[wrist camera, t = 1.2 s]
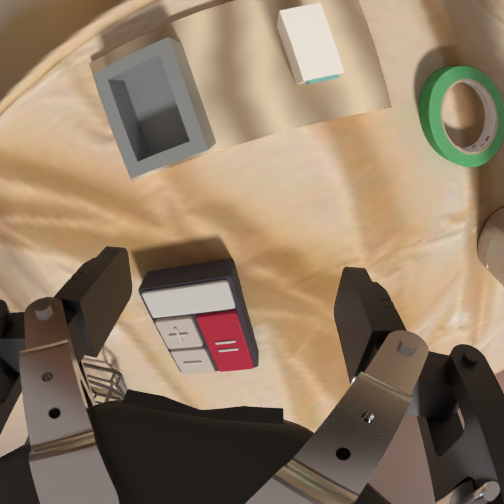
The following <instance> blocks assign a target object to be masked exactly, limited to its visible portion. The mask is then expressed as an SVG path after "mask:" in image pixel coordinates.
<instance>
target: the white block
mask: <svg viewBox="0 0 504 504" xmlns="http://www.w3.org/2000/svg"><path fill="white" fill-rule="evenodd" d="M277 30H278V33H279V36H280V39H281V41H282V44H283V47H284V50H285V53H286V56H287V59H288V62H289V65H290V68H291V71H292V74H293V77H294V80H295V83H296V85H298V84H302V83H305V85H309V84H314V83H318V82H323V81H328V80H333V79H336V78H340V77H339V74H342V73H344V70H343V66H342V63H341V60H340V57H339V54H338V51H337V47H336V44H335V42H334V39H333V36H332V33H331V30H330V27H329V24H328V22H327V19H326V16H325V14H324V11H323V8H322V6H321V3H316V4H310V5H305V6H299V7H294V8H289V9H284V10H280V11H279V15H278V21H277Z"/></svg>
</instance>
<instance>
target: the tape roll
mask: <svg viewBox="0 0 504 504" xmlns="http://www.w3.org/2000/svg"><path fill="white" fill-rule="evenodd" d="M460 82H464V83H466V84H468V85H469V86H471V87H472V88H473V89H474V90H475V91H476V92H477V94H478V95H479V97H480V99H481V101H482V104H483V107H484V112H485V124H484V128H483V131H482V134H481V136H480V137H479V139H478V140H477V141H476V142H475V143H474V144H473V145H471V146H469V147H465V148H460V147H458V146H456V145H455V144H454V143H453V142H452V141H451V139H450V138H449V136H448V134H447V132H446V129H445V126H444V122H443V104H444V100H445V97H446V95H447V93H448V92H449V90H450V89H451V88H452V87H453V86H454V85H456V84H458V83H460ZM419 115H420V122H421V126H422V129H423V132H424V134H425V137H426V139H427V140H428V142H429V143H430V145H431V146H432V148H433V149H434V150H435V151H436V152H437V153H438V154H439V155H441V156H442V157H444V158H445V159H447V160H449V161H452V162H454V163H456V164H458V165H461V166H465V167H477V166H480V165H483V164H485V163H486V162H488V161H489V160H491V159H492V158H493V157H494V156H495V154H496V153H497V152H498V150H499V148H500V146H501V144H502V142H503V139H504V103H503V100H502V97H501V95H500V93H499V91H498V89H497V87H496V86H495V84H494V83H493V82H492V81H491V80H490V78H489V77H488V76H486V75H485V74H484V73H483V72H481V71H480V70H478V69H475V68H473V67H469V66H449V67H444V68H442V69H439V70H437V71H436V72H435V73H433V74H432V75H431V76H430V77H429V78H428V80H427V81H426V83H425V85H424V87H423V89H422V92H421V96H420V102H419Z"/></svg>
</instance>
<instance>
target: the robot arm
mask: <svg viewBox="0 0 504 504" xmlns="http://www.w3.org/2000/svg"><path fill="white" fill-rule="evenodd" d="M478 255H479V259H480V261H481V263H482V264H483V265H484V266H485V267H486V268H487V269H488V270H489V271H490V272H491V273H492V275H493V276H494V277H495V278H496V279H497V280H498V281H499V282H500V283H501V284H502V285H503V286H504V208H501V209H499V210H498V211H496V212H495V213H494V214H493V215H492V216H491V217H490V218H489V219H488V221H487V222H486V224H485V225H484V227H483V229H482V232H481V234H480V238H479V242H478ZM131 293H132V280H131V273H130V265H129V258H128V252H127V250H126V248H120V247H109V246H107V247H106V248H105V249H104V250H103V251H102V252H101V253H100V254H99V255H98V256H97V257H96V258H93V259H91V260H89V261H88V262H86V263H84V264H83V265H82V266H81V267H80V268H79V269H78V270H77V273H75V274H74V275H73V276H72V277H71V279H69V280H68V281H67V283H66V284H65V285H64V286H63V287H62V288H61V289H60V291H59V292H58V293H57V294H56V295H55V296H54V297H45V298H41V299H38V300H36V301H34V302H32V303H31V304H30V305H29V306H28V307H27V308H26V310H25V312H18V313H10V312H9V309H8V307H7V304H6V302H5V301H3V300H0V434H1V432H2V430H3V427H4V425H5V423H6V421H7V419H8V417H9V415H10V413H11V411H12V409H13V407H14V405H15V403H16V401H17V399H18V397H19V396H20V394H21V392H22V394H23V403H24V410H25V417H26V422H27V429H28V434H29V440H30V442H28V443H26V444H25V445H23V446H21V447H19V448H17V449H15V450H14V451H12V452H10V453H8V454H6V455H4V456H2V457H1V458H0V504H391V503H390V502H389V501H387V499H385V498H384V497H383V496H382V495H381V494H380V493H379V492H377V491H376V490H375V489H374V488H373V487H372V486H371V485H370V484H369V483H368V480H369V479H370V477H371V476H372V474H373V473H374V471H375V469H376V467H377V466H378V464H379V462H380V461H381V459H382V457H383V455H384V454H385V452H386V450H387V448H388V447H389V445H390V443H391V441H392V439H393V437H394V435H395V433H396V431H397V429H398V427H399V425H400V423H401V421H402V419H403V417H404V415H405V414H409V415H414V416H417V419H418V423H419V427H420V431H421V435H422V439H423V443H424V448H425V452H426V456H427V461H428V465H429V470H430V475H431V480H432V485H433V490H434V496H435V502H436V503H435V504H504V393H503V391H502V389H501V387H500V385H499V383H498V381H497V380H496V377H495V375H494V373H493V371H492V369H491V368H490V366H489V364H488V362H487V360H486V358H485V357H484V355H483V354H482V353H481V352H480V351H479V350H477V349H476V348H474V347H472V346H469V345H465V344H461V345H457V346H455V347H454V348H453V349H452V351H451V353H450V355H449V356H448V355H443V354H439V353H434V352H430V351H428V346H427V344H426V343H425V341H424V340H423V339H422V338H421V337H419V336H418V335H416V334H414V333H412V332H409V331H407V330H406V328H405V326H404V324H403V322H402V320H401V318H400V316H399V314H398V312H397V310H396V309H395V306H394V304H393V302H392V301H391V298H390V297H389V295H388V293H387V291H386V290H385V289H384V288H383V287H382V286H381V285H380V284H378V283H377V282H372V281H371V279H370V277H369V275H368V273H367V271H366V269H365V268H355V267H345V268H344V269H343V272H342V276H341V280H340V284H339V288H338V292H337V296H336V300H335V306H334V318H335V322H336V326H337V330H338V334H339V338H340V342H341V346H342V351H343V355H344V359H345V363H346V367H347V372H348V376H349V381H350V385H351V386H350V388H349V389H348V391H347V392H346V393H345V395H344V396H343V397H342V399H341V400H340V401H339V403H338V404H337V405H336V407H335V408H334V409H333V411H332V412H331V413H330V414H329V416H328V417H327V418H326V419H325V421H324V422H323V423H322V424H321V426H320V427H319V428H318V429H317V431H316V432H315V433H313V432H312V431H310V430H309V429H307V428H305V427H303V426H301V425H299V424H296V423H293V422H290V421H287V420H283V408H262V407H248V406H241V407H232V408H223V409H212V410H199V409H196V408H193V407H190V406H187V405H185V404H182V403H179V402H177V401H174V400H172V399H169V398H167V397H164V396H160V395H154V394H148V393H143V392H138V391H133V390H127V392H126V395H125V397H124V400H114V401H108V402H103V403H100V404H97V405H96V402H95V399H94V396H93V393H92V390H91V387H90V384H89V381H88V378H87V375H86V371H85V368H84V365H83V362H82V359H83V357H84V355H87V356H91V357H96V358H97V356H98V354H99V352H100V351H101V349H102V347H103V345H104V343H105V341H106V340H107V338H108V336H109V334H110V332H111V331H112V329H113V327H114V325H115V324H116V322H117V320H118V318H119V317H120V315H121V313H122V312H123V310H124V308H125V306H126V305H127V303H128V301H129V300H130V297H131ZM459 408H460V410H461V413H462V416H463V419H464V423H465V428H464V430H463V427H462V424H461V421H460V418H459V415H458V412H457V410H458V409H459Z"/></svg>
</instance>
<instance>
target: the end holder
mask: <svg viewBox="0 0 504 504" xmlns="http://www.w3.org/2000/svg"><path fill="white" fill-rule="evenodd" d="M93 76H94V79H95V82H96V85H97V88H98V91H99V94H100V97H101V100H102V103H103V106H104V109H105V112H106V115H107V117H108V120H109V123H110V126H111V128H112V131H113V134H114V137H115V139H116V142H117V145H118V147H119V150H120V152H121V155H122V158H123V160H124V163H125V165H126V168H127V170H128V173H129V175H130V178H131V179H132V178H135V177H137V176H139V175H142V174H144V173H147V172H150V171H152V170H155V169H157V168H160V167H163V166H165V165H168V164H170V163H173V162H176V161H179V160H181V159H184V158H187V157H190V156H193V155H196V154H198V153H201V152H204V151H207V150H209V149H210V148H211V147H212V146H213V145H215V144H216V140H215V137H214V134H213V131H212V128H211V126H210V123H209V120H208V117H207V114H206V111H205V108H204V105H203V103H202V100H201V97H200V94H199V91H198V88H197V85H196V82H195V80H194V77H193V74H192V71H191V68H190V65H189V62H188V60H187V57H186V54H185V51H184V48H183V45H182V44H180V43H178V42H177V41H175V40H173V39H172V38H170V37H167V38H165V39H163V40H160V41H158V42H156V43H153V44H151V45H149V46H147V47H145V48H143V49H140V50H138V51H136V52H134V53H132V54H130V55H128V56H126V57H124V58H122V59H120V60H118V61H116V62H115V63H113V64H111V65H109V66H107V67H105V68H103V69H102V70H100V71H98V72H96V73H95V74H93Z"/></svg>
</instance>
